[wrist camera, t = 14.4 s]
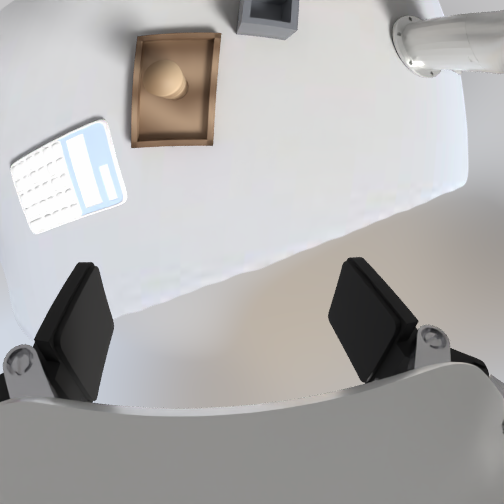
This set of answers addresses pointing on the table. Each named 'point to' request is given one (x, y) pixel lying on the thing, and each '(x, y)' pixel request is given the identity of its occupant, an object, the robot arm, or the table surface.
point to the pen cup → (268, 18)
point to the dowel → (165, 80)
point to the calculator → (69, 178)
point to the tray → (185, 109)
